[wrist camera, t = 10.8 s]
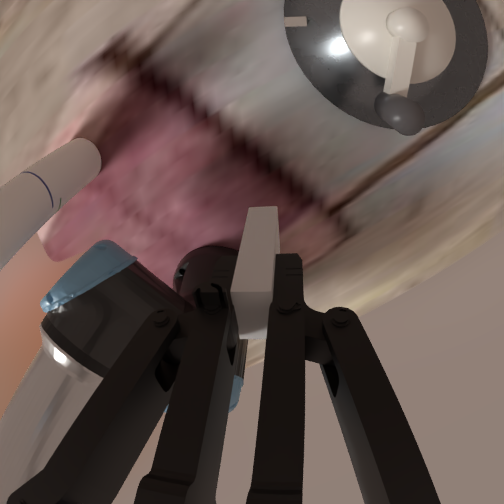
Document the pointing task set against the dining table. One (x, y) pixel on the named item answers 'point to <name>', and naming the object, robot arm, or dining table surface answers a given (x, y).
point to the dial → (399, 50)
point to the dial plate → (369, 84)
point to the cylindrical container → (43, 192)
